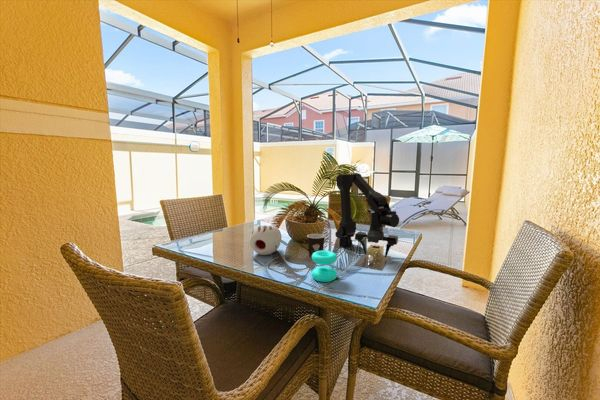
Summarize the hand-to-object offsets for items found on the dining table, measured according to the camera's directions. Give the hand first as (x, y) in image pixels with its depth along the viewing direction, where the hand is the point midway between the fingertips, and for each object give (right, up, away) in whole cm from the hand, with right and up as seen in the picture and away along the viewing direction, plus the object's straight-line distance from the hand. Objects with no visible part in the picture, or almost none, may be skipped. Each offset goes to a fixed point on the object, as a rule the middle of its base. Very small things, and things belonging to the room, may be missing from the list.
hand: (375, 255), depth 128 cm
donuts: (-26, -5, -19) cm, 32 cm away
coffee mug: (-29, -2, +8) cm, 30 cm away
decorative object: (-52, -1, +12) cm, 53 cm away
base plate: (-2, -3, -4) cm, 6 cm away
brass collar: (0, -1, 0) cm, 1 cm away
